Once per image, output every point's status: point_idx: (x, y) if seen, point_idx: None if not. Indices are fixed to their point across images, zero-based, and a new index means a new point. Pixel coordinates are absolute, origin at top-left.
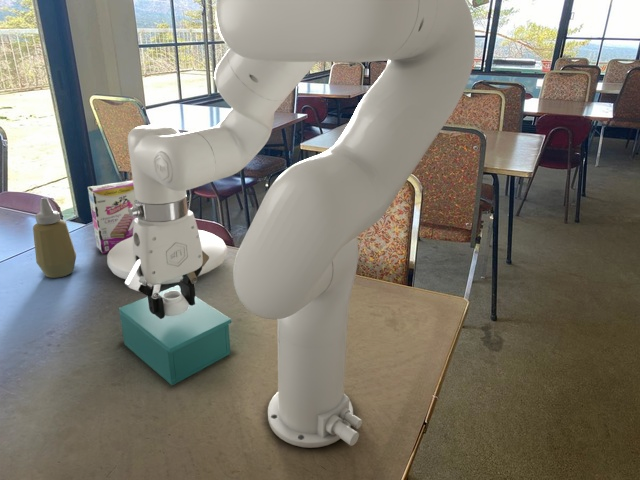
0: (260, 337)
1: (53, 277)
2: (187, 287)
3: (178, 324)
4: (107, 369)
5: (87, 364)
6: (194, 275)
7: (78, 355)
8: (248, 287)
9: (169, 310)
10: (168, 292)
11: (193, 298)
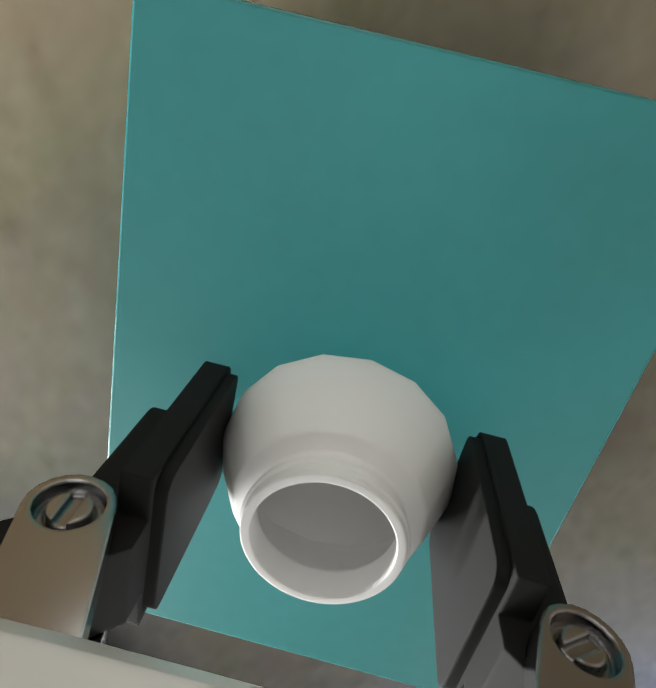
0: (31, 10)
1: None
2: (174, 499)
3: (439, 315)
4: (611, 472)
5: (614, 549)
6: (17, 552)
7: (580, 605)
8: None
9: (432, 442)
10: (301, 586)
11: (195, 390)
